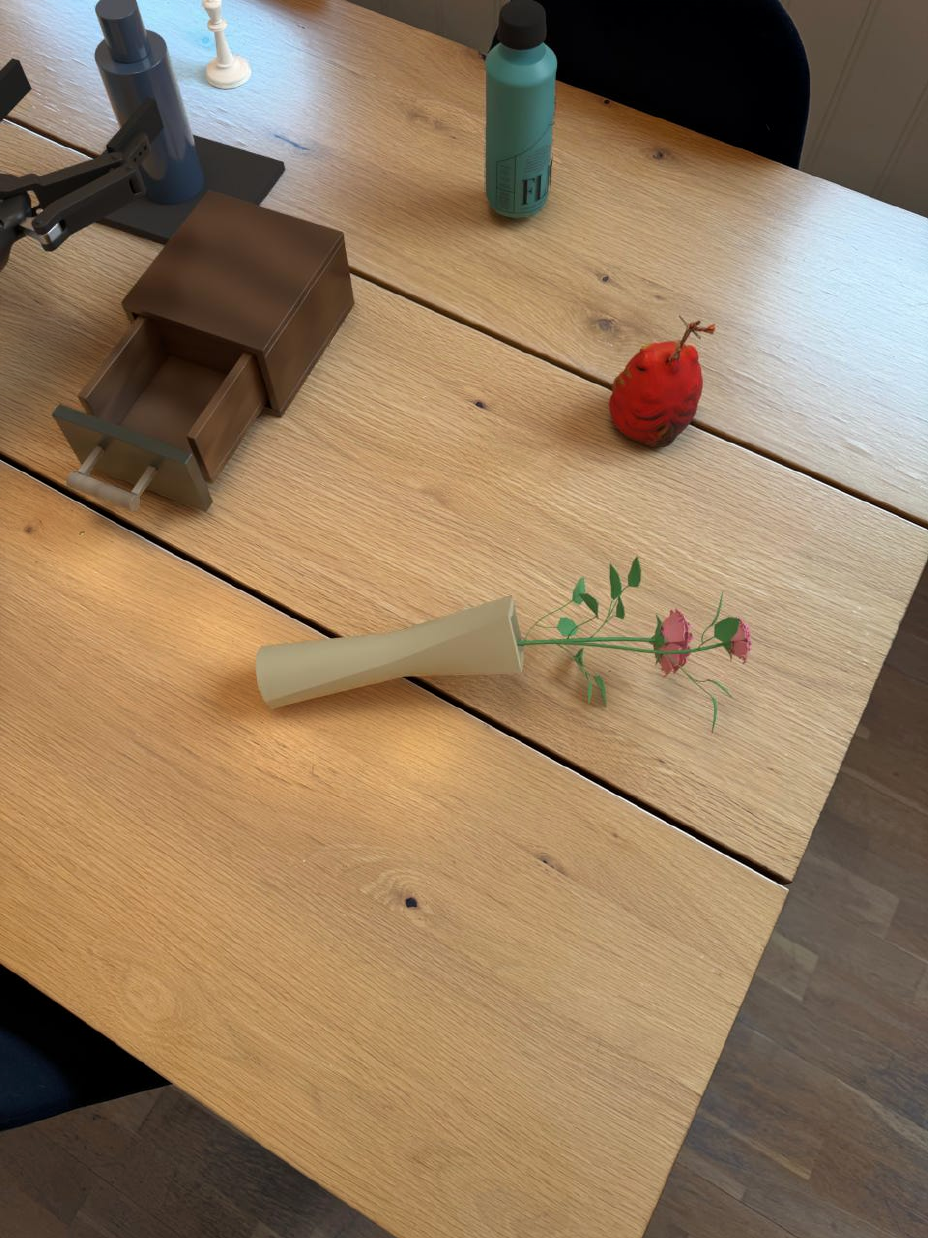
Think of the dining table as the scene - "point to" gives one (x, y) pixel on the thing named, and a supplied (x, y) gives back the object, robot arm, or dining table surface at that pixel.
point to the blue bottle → (145, 70)
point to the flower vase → (469, 648)
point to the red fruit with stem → (659, 390)
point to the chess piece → (223, 53)
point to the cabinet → (251, 287)
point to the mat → (223, 175)
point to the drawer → (162, 415)
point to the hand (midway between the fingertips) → (88, 92)
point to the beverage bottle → (519, 111)
